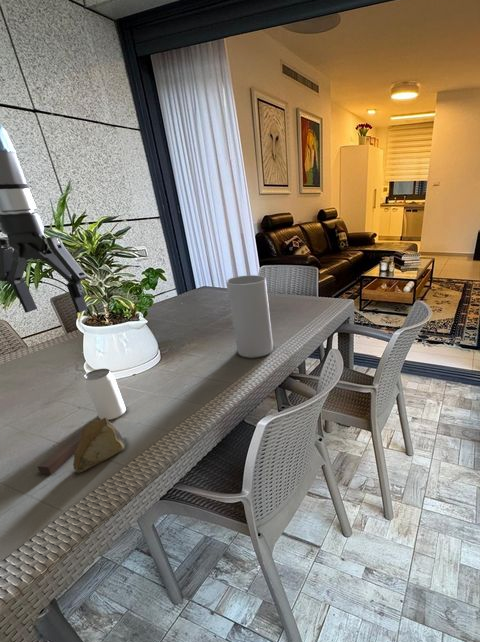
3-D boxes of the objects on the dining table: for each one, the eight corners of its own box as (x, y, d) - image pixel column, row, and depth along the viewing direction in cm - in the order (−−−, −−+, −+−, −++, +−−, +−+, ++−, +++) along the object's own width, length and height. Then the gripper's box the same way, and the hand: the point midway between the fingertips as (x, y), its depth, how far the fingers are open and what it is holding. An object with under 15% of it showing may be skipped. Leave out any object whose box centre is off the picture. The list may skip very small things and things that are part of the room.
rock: (66, 476, 69) (120, 454, 72) (50, 436, 69) (104, 416, 73) (86, 472, 79) (132, 452, 83) (71, 437, 80) (118, 419, 83)
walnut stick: (51, 474, 73) (47, 467, 72) (40, 473, 73) (36, 466, 73) (102, 427, 87) (99, 421, 86) (92, 427, 87) (90, 420, 86)
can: (110, 406, 96) (95, 366, 90) (131, 408, 95) (117, 368, 89) (93, 419, 90) (75, 379, 84) (114, 422, 89) (98, 380, 83)
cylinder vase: (230, 355, 122) (217, 282, 110) (251, 342, 132) (242, 274, 120) (260, 361, 117) (250, 286, 105) (279, 346, 127) (273, 276, 115)
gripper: (83, 209, 75) (114, 306, 86) (-19, 213, 78) (23, 305, 89) (56, 212, 69) (93, 316, 79) (-54, 215, 72) (-4, 315, 82)
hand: (56, 310), depth 84 cm, fingers open, 13 cm apart
